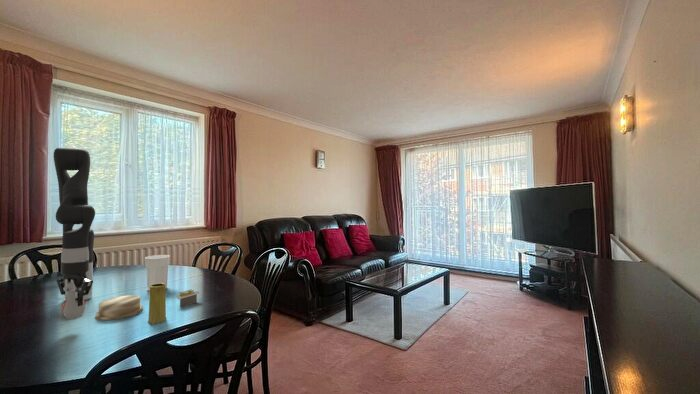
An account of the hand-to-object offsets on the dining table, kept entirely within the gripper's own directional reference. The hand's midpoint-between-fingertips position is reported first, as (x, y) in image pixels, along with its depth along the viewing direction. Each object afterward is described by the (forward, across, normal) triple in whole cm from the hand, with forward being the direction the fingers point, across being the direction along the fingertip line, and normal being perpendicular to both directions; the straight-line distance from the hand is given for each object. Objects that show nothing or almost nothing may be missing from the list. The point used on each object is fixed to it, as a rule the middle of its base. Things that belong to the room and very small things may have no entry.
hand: (74, 306), depth 109 cm
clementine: (+9, -17, +13) cm, 23 cm away
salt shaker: (+4, 0, 0) cm, 4 cm away
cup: (+10, -11, +49) cm, 51 cm away
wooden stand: (+9, 0, +18) cm, 20 cm away
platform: (+10, +21, +32) cm, 40 cm away
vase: (+9, +22, +14) cm, 28 cm away
